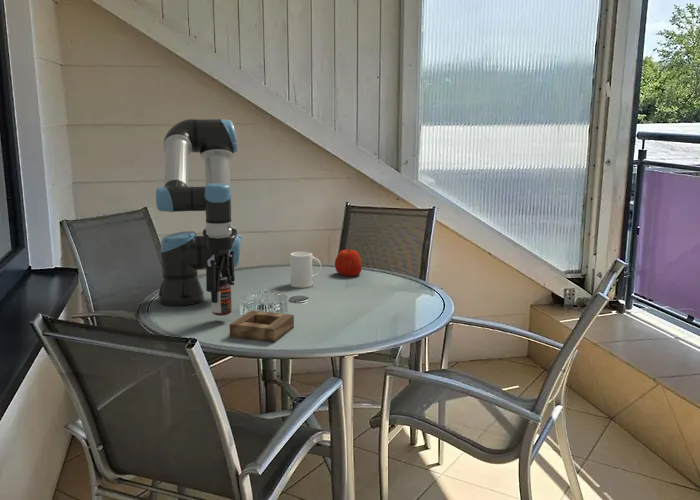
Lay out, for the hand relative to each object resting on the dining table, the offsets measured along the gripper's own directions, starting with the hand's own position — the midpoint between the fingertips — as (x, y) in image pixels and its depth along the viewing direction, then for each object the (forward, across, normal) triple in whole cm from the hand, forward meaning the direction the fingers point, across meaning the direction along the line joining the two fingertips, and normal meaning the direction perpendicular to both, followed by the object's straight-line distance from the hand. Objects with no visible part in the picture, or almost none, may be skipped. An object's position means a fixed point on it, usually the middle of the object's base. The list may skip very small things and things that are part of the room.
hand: (221, 308), depth 199 cm
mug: (+5, +49, -8) cm, 50 cm away
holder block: (+4, -6, -16) cm, 18 cm away
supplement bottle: (+2, 0, 0) cm, 2 cm away
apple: (+6, +70, -19) cm, 73 cm away
